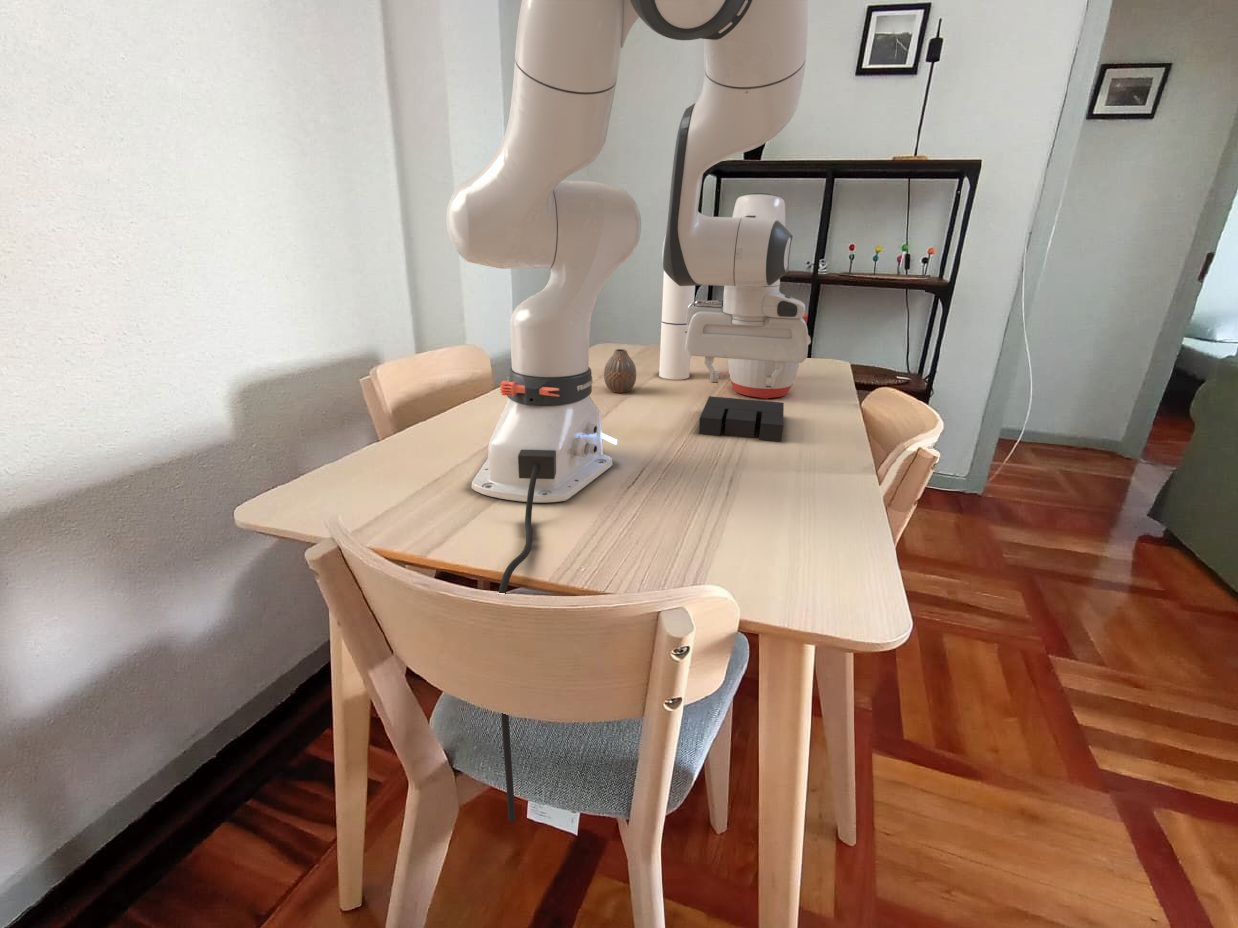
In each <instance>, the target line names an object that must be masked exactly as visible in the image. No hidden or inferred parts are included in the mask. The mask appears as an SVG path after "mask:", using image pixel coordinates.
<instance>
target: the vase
mask: <svg viewBox="0 0 1238 928" xmlns="http://www.w3.org/2000/svg"><path fill="white" fill-rule="evenodd" d="M603 378H604V379H603V380H604V383H605V385H606V387H607V389H608V391H610V392H611V393H615V394H616V393H617V394H624V393H629V392H630V391H631V390H632V389H633V388H634V386H635V384H636V382H637V368H636V364H635V362H634V360H632V358H631V356H630V355H629V353H628V351H627V350H626V349H625V348H617V349H614V351H613V354H612V355H611V357H610V358H609V359H608V360H607V362H606V363H605V367H604V370H603Z"/></svg>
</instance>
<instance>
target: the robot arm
mask: <svg viewBox="0 0 1238 928" xmlns="http://www.w3.org/2000/svg"><path fill="white" fill-rule="evenodd" d="M808 5H809V4H808V0H521V2H520V8H519V15H518V20H517V29H516V36H515V49H514V67H513V78H512V79H513V81H512V90H511V100H510V108H509V113H508V114H509V115H508V121H507V124H506V125H507V126H506V129H505V133H504V135H503V138H502V140H501V142H500V145H499V146H498V148H497V149H496V151H495V153H494V154H493V156H492V157H491V158H490V159H489V160H488V162H487V163H486V164H485V165H484V166H483V167H482V168H481V169H480V170H479V171H478V172H476V174H474V175H472V176H471V177H470V178H468V179H466V180H465V181H462V182H461V183H460V184H459V185H458V186H457V187H456V189H455V190H454V191H453V193H452V194H451V197H450V198H449V201H448V203H447V207H446V216H445V223H446V230H447V234H448V237H449V240H450V242H451V244H452V246H453V247H454V249H455V251H456V252H457V254H458V255H459V256H460V257H461V258H462V259H463V260H464V261H466V262H468V263H470V264H475V265H479V266H483V267H484V266H485V267H491V268H495V269H503V270H504V269H505V270H506V269H508V270H509V269H510V270H512V269H549V270H550V276H549V279H548V282H547V284H546V285H545V287H544V288H543V289H542V290H540V291H539V292H537V293H535V294H533V295H531V296H529V297H528V298H526V299H524V300H523V301H522V302H520V303H519V304H518V305H517V306H516V307H515V309H513V311H512V313H511V316H510V319H509V335H510V336H509V337H510V354H511V355H510V356H511V357H510V358H511V367H510V369H509V370H508V377H507V380H502V381H501V382H500V386H499V391H500V395H501V396H505V397H507V401H506V402H505V406H504V408H503V410H502V412H501V413H500V416H499V418H498V421H497V423H496V425H495V428H494V430H493V432H492V434H491V436H490V439H489V442H488V447H487V459H486V460H485V461H484V463H483V465H482V466H481V467H480V469H479V471H478V472H477V473H476V475H475V476H474V477H473V479H472V481H471V489H472V490H473V491H475V492H476V493H478V494H481V495H484V496H486V497H492V498H496V499H502V500H507V501H514V502H515V501H516V502H523V503H526V504H525V505H526V506H525V516H524V528H525V544H524V548H523V549H522V551H521V553H520V554H518V556H516V557H514V559H513V560H512V561H511V562H509V564H508V565H507V567H506V568H505V570H504V572H503V575H502V577H501V579H500V584H499V587H498V593H505V595H506V594H507V592H508V586H509V583H510V579H511V577H512V575H513V573H514V571H515V570H516V568H517V567H518V566H519V565H520V564H521V563H523V562H524V561H525V560H526V559H527V558H528V556H529V555H530V553H531V551H532V546H533V542H534V541H533V540H534V538H533V537H534V536H533V535H534V533H533V526H532V517H533V504H534V503H541V504H542V503H559V502H564V501H568V500H569V499H571V498H572V497H573V496H575V495H576V494H577V493H579V492H580V491H581V490H582V489H583V488H585V487H586V486H588V485H589V484H591V483H592V482H593V481H594V480H596V479H597V478H599V476H602V474H603V473H605V472H606V471H608V470H609V469H610V468H611V467H612V466H613V458H612V457H611V456H609V455H608V454H606V453H604V447H603V446H604V443H603V440H605V441H607V442H608V443H611V444H613V445H617V444H618V440H617V439H616V438H614V437H612V436H609V435H607V434H605V433H603V425H602V424H603V423H602V411H601V409H599V407H598V406H597V404H595V402H594V400H593V399H592V396H591V394H592V392H593V376H592V375H593V374H592V368H591V367H590V365H589V359H590V355H589V354H590V336H591V335H590V333H591V324H592V323H591V322H592V316H593V310H594V307H595V304H596V302H597V299H598V297H599V295H600V292H601V290H602V288H603V287H604V285H605V284H606V282H607V281H608V279H609V278H610V277H611V276H612V274H613V273H614V272H615V271H616V270H617V269H618V268H619V267H620V266H622V265H623V264H624V263H626V262H627V261H628V260H629V259H630V258H631V257H632V255H633V254H634V252H635V250H637V249H636V248H637V247H638V244H639V241H640V238H641V233H642V218H641V214H640V209H639V207H638V204H637V202H636V201H635V199H634V197H633V196H632V194H631V193H630V191H628V190H627V189H624V188H621V187H617V186H614V185H610V184H608V183H607V184H606V183H602V182H598V181H594V180H593V181H592V180H591V181H590V180H568V179H567V180H566V178H568V177H570V176H572V175H573V174H576V173H578V172H579V171H581V170H583V169H585V168H586V167H588V166H589V165H591V164H592V163H593V162H594V161H595V160H596V159H597V157H598V156H599V155H600V153H601V152H602V150H603V148H604V146H605V144H606V140H607V135H608V129H609V126H610V125H609V124H610V119H611V114H612V108H613V104H614V103H613V102H614V97H615V92H616V87H617V83H618V76H619V71H620V63H621V56H622V49H623V48H624V45H625V43H626V40H627V37H628V35H629V33H630V31H631V29H632V27H633V26H634V24H635V23H636V22H637V20H638V19H639V18H640V19H641V21H643V23H644V24H645V25H646V26H647V27H648V28H650V30H652V31H653V32H655V33H656V34H658V35H660V36H662V37H665V38H667V39H670V40H675V41H694V40H695V41H696V40H699V39H700V40H701V39H703V84H702V88H701V91H700V93H699V96H698V99H697V100H696V102H694V103H693V104H691V105H689V106H688V107H686V108H685V110H684V111H683V114H682V116H681V119H680V122H679V126H678V130H677V133H676V138H675V147H674V155H673V162H672V170H671V181H670V189H669V190H670V191H669V203H668V211H667V212H668V213H667V225H666V231H665V234H664V238H663V241H662V242H663V243H662V249H661V262H662V269H663V272H664V271H665V272H666V273H667V275H668V276H669V277H670V278H671V279H672V280H673V281H674V282H675V283H676V284H678V285H679V286H695V287H696V286H717V287H718V286H719V287H720V286H722V287H723V296H722V300H715V299H714V300H712V299H711V300H704V299H696V300H695V301H694V302H693V303H691V304H690V305H689V306H688V307H687V310H686V322H687V324H688V325H689V328H688V332H687V337H686V344H685V350H686V352H687V353H688V355H690V356H691V357H701V358H702V357H703V358H704V357H705V358H704V365H705V366H706V368H707V371H708V372H709V383H710V384H719V382H720V373H721V372H720V371H718V370H715V367H714V365H713V364H714V362H715V358H718V359H728V358H731V359H746V360H760V361H775V368H776V369H775V371H774V372H773V374H772V375H767V376H766V385H765V387H772V388H774V385H775V378H776V377H777V376H778V375H779V374H780V372H781V371H782V370H783V367H784V362H789V363H799V364H802V363H803V362H805V361H806V360H807V359H808V353H809V345H808V335H809V329H808V325H807V324H806V322H805V320H804V319H803V318H802V317H803V316H804V314H806V304H805V303H804V302H803V301H802V300H800V299H798V298H794V297H792V296H790V295H787V294H784V293H782V292H781V291H780V287H781V278H782V277H784V276H785V275H786V274H787V273H788V272H789V270H790V269H789V268H790V267H789V265H790V255H791V254H790V253H791V247H792V246H791V245H792V242H793V241H792V240H793V234H792V233H791V231H789V230H788V229H787V226H786V222H787V221H786V220H787V219H786V218H787V217H786V214H787V213H786V202H785V200H784V199H783V198H782V197H780V196H779V195H777V194H772V193H766V192H752V193H748V194H747V193H746V194H743V195H741V196H739V197H738V198H736V200H735V202H734V203H735V204H734V208H733V212H732V216H708V215H705V214H703V213H701V212H699V204H700V197H701V192H702V185H703V177H704V173H705V172H706V171H707V170H709V169H710V168H711V167H714V166H715V165H717V164H719V163H721V162H723V161H725V160H727V159H729V158H732V157H735V156H738V155H740V154H743V153H747V152H750V151H753V150H755V149H757V148H759V147H761V146H763V145H765V144H766V143H768V142H769V141H771V140H772V139H773V138H775V137H776V136H777V135H778V134H779V133H780V132H782V131H783V129H785V127H786V126H787V125H788V123H789V122H790V121H791V120H792V118H793V116H794V115H795V113H796V111H797V110H798V107H799V102H800V100H801V99H800V98H801V94H802V89H803V85H804V78H805V72H806V71H805V70H806V61H807V49H808V47H807V46H808V29H809V27H808V25H809V24H808V23H809V18H808V17H809V16H808V15H809V13H808V11H809V9H808V7H809V6H808ZM779 291H780V292H781V293H780V292H779ZM692 305H694V306H692ZM500 715H501V716H500V718H501V731H502V732H501V733H502V746H503V747H502V749H503V760H504V772H505V787H506V801H507V815H508V816H507V818H508V823H514V822H515V821H516V808H515V807H516V806H515V792H514V791H515V790H514V775H513V761H512V748H511V747H512V746H511V731H510V716H509V715H510V714H509V715H506V714H503V713H501V712H500Z"/></svg>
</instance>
